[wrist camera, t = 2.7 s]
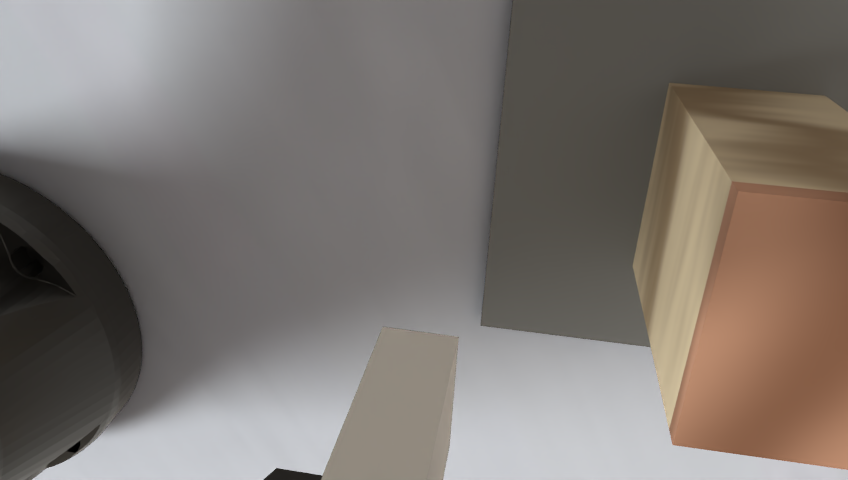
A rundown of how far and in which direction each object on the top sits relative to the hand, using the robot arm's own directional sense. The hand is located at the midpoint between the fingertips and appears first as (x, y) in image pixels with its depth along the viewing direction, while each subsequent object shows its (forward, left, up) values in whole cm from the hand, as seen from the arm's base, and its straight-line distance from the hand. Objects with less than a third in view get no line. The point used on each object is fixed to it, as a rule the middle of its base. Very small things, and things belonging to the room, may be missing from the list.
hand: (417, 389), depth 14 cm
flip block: (+9, 0, -14) cm, 16 cm away
